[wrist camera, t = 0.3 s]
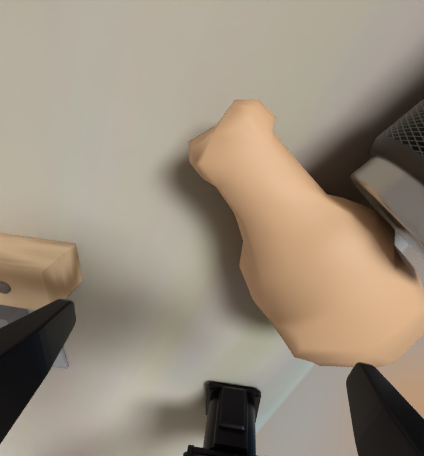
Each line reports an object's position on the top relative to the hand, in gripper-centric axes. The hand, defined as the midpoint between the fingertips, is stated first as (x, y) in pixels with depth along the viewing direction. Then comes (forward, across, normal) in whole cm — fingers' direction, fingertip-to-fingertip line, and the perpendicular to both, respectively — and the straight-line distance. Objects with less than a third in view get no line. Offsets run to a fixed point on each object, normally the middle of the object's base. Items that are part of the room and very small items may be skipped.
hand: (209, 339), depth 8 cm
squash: (+15, -5, +2) cm, 16 cm away
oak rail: (+15, +23, +11) cm, 30 cm away
